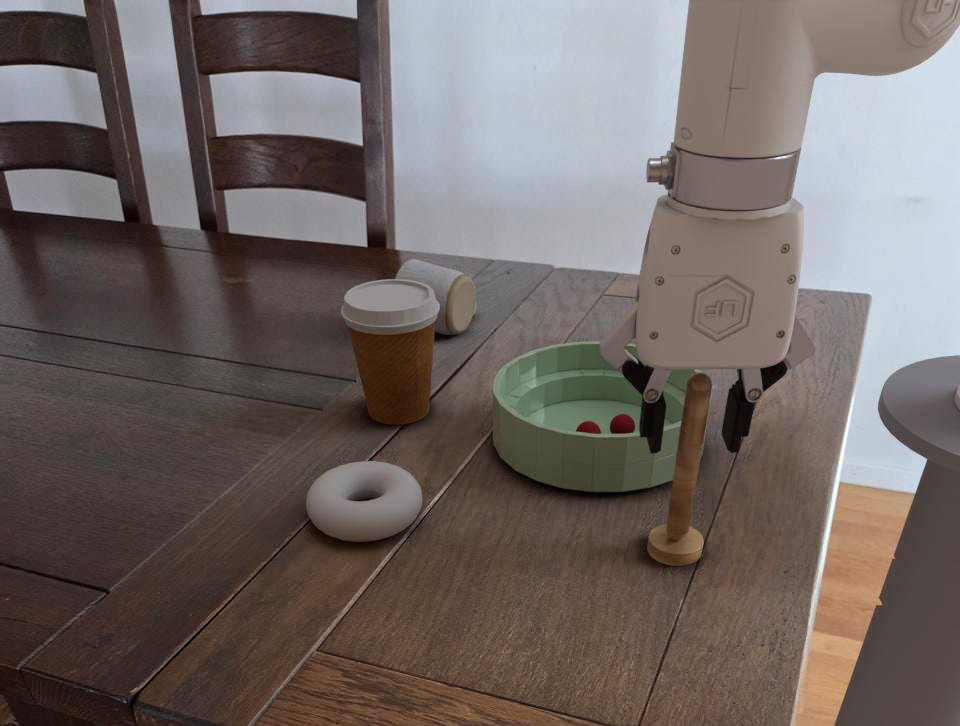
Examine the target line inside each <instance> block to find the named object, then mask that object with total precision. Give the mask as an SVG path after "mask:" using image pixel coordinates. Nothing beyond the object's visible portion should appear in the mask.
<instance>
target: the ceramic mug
mask: <svg viewBox="0 0 960 726" xmlns="http://www.w3.org/2000/svg"><path fill="white" fill-rule="evenodd" d="M394 279H403V280H412V281H417V282H421V283H423V284H426V285H428V286H429V287H431V288H432V289H433V291H434V294H435V298H436V300H437V301H438V302H439V304H440V310H439V312H438V314H437V318H436V320H435V333H436V334H441V335H447V336H448V335H449V336H456V335H459V334H461V333H463V332H464V331H465V330H466V329H467V328H468V327H469V325H470V324H471V322H472V319H473V317H474V316H475V314H476V311H477V307H478V306H477V305H478V302H477V290H476V286H475V284H474V281H473V280H472V278H471V277H470V276H469V275H467V274H465V273H463V272H461V271H459V270H456V269H453V268H448V267H444V266H441V265H437V264H433V263H430V262H426V261H423V260H420V259H416V258H412V259H411V258H410V259H408V260H406V261H405V262H404V263H402V265H401V266H400V267H399V269H398V270H397V272H396V274H395V278H394Z"/></svg>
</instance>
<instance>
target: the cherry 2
mask: <svg viewBox="0 0 960 726" xmlns="http://www.w3.org/2000/svg"><path fill="white" fill-rule="evenodd" d="M634 430H635V423H634V420H633V419H632V418H631V417H630V416H629V415H627V414H619V415H617V416H615V417H614V418H613V419H612V421H611V423H610V432H611V434H627V433H634Z"/></svg>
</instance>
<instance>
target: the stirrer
mask: <svg viewBox="0 0 960 726" xmlns="http://www.w3.org/2000/svg"><path fill="white" fill-rule="evenodd" d="M712 389H713V381H712V378H711V377H710V375H709V374H708V373H706V372H704V371H702V372H698V373H694V374H693V375H691V376H690V377H689V379H688V381H687V384H686V391H685V398H684V405H683V412H682V419H681V426H680V433H679V441H678V448H677V455H676V462H675V469H674V476H673V480H672V483H671V492H670V500H669V506H668V511H667V518H666V519H667V520H666V523H663V524H659V525H657V526H655V527H653V528H652V529H651V530H650V532H649V533H648V538H647V547H646V551H647V553H648V555H649V556H650V557H651V558H652V559H653V560H655V561H656V562H658V563H661V564H663V565H666V566H671V567H672V566H673V567H685V566H689V565H692V564H694V563H696V562H697V561H699V560H700V558H701V557H702V555H703V549H704V544H705V540H704V537H703V535H702V533H701V532H700V531H699V530H698V529H696V528H694V527H693V526H691V519H692V513H693V508H694V502H695V495H696V488H697V484H698V483H697V482H698V477H699V470H700V463H701V458H702V457H701V452H702V446H703V440H704V434H705V428H706V421H707V415H708V409H709V403H710V397H711V390H712Z"/></svg>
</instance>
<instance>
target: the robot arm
mask: <svg viewBox="0 0 960 726" xmlns="http://www.w3.org/2000/svg"><path fill="white" fill-rule="evenodd" d="M687 7H688V8H687V14H686V15H687V16H686V25H685V33H684V42H683V52H682V53H683V54H682V62H681V69H680V79H679V89H678V97H677V98H678V99H677V105H676V115H675V116H676V117H675V127H674V136H673V141H671V142H670V149H669V150H666V155H660V157H649V158H647V163H646V169H645V170H646V171H645V172H646V174H645V180H646V183H649V184H650V183H658V186H664V190H667V194H663V195H661V196H659V197H658V198H657V200H656V203H655V205H654V208H653V209H654V210H653V212H652V216H651V220H650V223H649V227H648V230H647V234H646V239H645V244H644V247H643V253H642V257H641V264H640V269H639V274H638V275H639V276H638V281H637V288H636V292H635V293H636V294H635V299H634V304H633V305H632V306H631V307H630V308H629V309H628V310H627V312H625V314H624V315H623V316H622V317H621V318H620V319H619V320H618V321H617V323H616V324H615V325H613V327H612V328H611V329H610V330H609V331H608V332H607V334H605V336H604V337H602V339H601V340H600V341H601V342H600V343H599V351H600V355H601V357H602V358H603V359H604V360H605V361H606V362H608V363H609V364H610V365H611V366H612V367H614V368H615V369H616V370H617V371H619V372H621V373H622V374H623V376H624V377H625V378H626V379H627V380H628V381H629V382H630V383H631V384H632V385H633V387H634V388H635V389H636V390H637V391H638V392H639V393H640V394H641V395H642V405H641V414H640V424H639V432H640V437H647V441H648V445H649V449H650V453H658V451H661V445H662V437H663V429H664V421H665V414H666V402H665V399H664V395H663V393H664V392H663V389H664V387H665V385H666V382H667V380H668V378H669V376H670V373H671V371H672V369H700V370H736V374H737V375H736V376H737V380H736V381H735V382H734V383H733V384H731V387H730V388H728V392H727V397H726V404H725V408H724V409H725V410H724V415H723V420H722V425H721V426H722V427H721V436H722V439H723V442H724V444H725V447H726V450H727V452H730V454H738V453H740V447H741V442H742V438H743V437H744V438H746V437H748V436H749V434H750V429H751V424H752V419H753V414H754V409H755V403H757V402H759V401H760V400H762V398H763V396H764V392H766V391H767V390H768V389H769V388H772V386H773V385H774V384H776V383H777V382H778V381H779V380H781V379H782V378H784V376H786V374H787V372H788V371H790V370H793V369H794V368H796V367H797V366H799V365H801V364H802V363H804V361H806V360H807V359H809V358H810V357H812V356H813V355H814V354H815V352H816V346H815V345H814V343H813V342H812V340H811V338H810V337H809V335H808V334H807V332H806V330H805V329H804V327H803V325H802V324H801V322H800V320H799V319H798V318H797V315H796V311H797V303H798V296H799V295H798V294H799V288H800V279H801V271H802V262H803V261H802V260H803V252H804V251H803V249H804V233H805V232H804V231H805V209H804V208H805V207H804V205H803V204H802V203H801V202H799V201H798V200H797V199H796V198H794V197H793V193H794V188H795V184H796V178H797V174H798V173H797V172H798V169H799V163H800V158H801V153H802V146H803V141H804V136H805V131H806V126H807V121H808V116H809V110H810V106H811V99H812V95H813V90H814V89H813V88H814V86H815V85H814V84H815V80H816V79H817V78H818V76H820V75H821V74H825V73H828V74H829V73H831V74H845V75H846V74H847V75H857V76H868V77H883V76H884V77H885V76H891V75H895V74H900V73H903V72H905V71H908V70H910V69H913V68H915V67H917V66H920V65H921V64H923V63H924V62H926V61H927V60H930V58H932V57H933V56H935V54H936V53H938V52H939V51H940V50H941V49H942V48H943V47H944V46H945V45H946V44H947V43H948V42H949V41H950V39H951V38H952V37H953V35H954V34H955V33H956V31H957V30H958V29H959V27H960V0H688V6H687ZM633 339H635V344H636V350H637V354H638V356H639V358H640V360H641V361H642V362H643V363H644V364H645V365H643V364H642V363H641V362H640V360H639V359H638V358H637V357H636V356H634V355H632V354H630V353H629V352H628V351H627V350H626V349H625V348H626V346H627V345H628V344H631V342H632V340H633ZM954 401H955V404H956V406H957V408H958V409H959V410H960V385H959V386H958V389H957V391H956V394H955V398H954Z"/></svg>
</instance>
